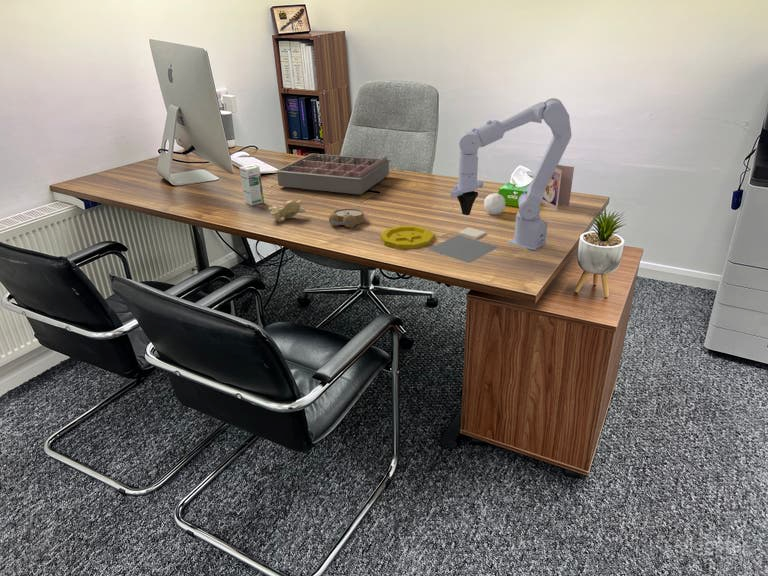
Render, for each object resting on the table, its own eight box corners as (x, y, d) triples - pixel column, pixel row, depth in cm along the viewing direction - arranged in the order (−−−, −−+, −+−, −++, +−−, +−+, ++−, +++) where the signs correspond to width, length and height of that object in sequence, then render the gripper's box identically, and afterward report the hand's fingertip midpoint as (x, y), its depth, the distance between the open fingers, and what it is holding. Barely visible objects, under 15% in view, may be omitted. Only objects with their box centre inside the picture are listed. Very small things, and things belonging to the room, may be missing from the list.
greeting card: (537, 201, 216) (542, 163, 209) (554, 199, 218) (559, 161, 211) (554, 210, 206) (559, 170, 200) (572, 208, 208) (577, 168, 202)
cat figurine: (266, 202, 203) (297, 190, 204) (273, 217, 208) (303, 205, 209) (271, 215, 198) (302, 203, 199) (278, 230, 203) (308, 218, 204)
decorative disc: (412, 254, 174) (412, 249, 173) (370, 241, 184) (370, 236, 184) (443, 238, 185) (443, 233, 185) (402, 227, 196) (402, 222, 195)
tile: (475, 241, 183) (485, 236, 187) (475, 237, 182) (486, 231, 186) (458, 236, 187) (468, 231, 191) (458, 232, 187) (468, 227, 190)
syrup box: (251, 205, 219) (246, 169, 213) (244, 202, 223) (239, 166, 217) (264, 202, 223) (259, 166, 216) (256, 199, 226) (252, 163, 220)
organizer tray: (312, 170, 265) (311, 149, 260) (391, 177, 251) (391, 155, 247) (276, 189, 239) (273, 166, 234) (361, 198, 225) (360, 174, 220)
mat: (498, 248, 176) (499, 247, 176) (469, 264, 166) (469, 263, 166) (457, 236, 186) (457, 234, 186) (427, 250, 176) (427, 249, 176)
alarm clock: (368, 210, 203) (352, 216, 190) (368, 223, 205) (352, 230, 191) (340, 207, 207) (322, 213, 194) (340, 220, 209) (322, 227, 195)
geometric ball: (497, 219, 207) (512, 202, 204) (491, 218, 200) (506, 201, 197) (483, 206, 209) (497, 189, 206) (476, 205, 202) (491, 187, 199)
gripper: (471, 165, 180) (469, 205, 186) (443, 175, 171) (441, 217, 177) (489, 169, 175) (487, 210, 182) (461, 179, 166) (459, 222, 172)
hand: (466, 214), depth 179 cm, fingers closed
